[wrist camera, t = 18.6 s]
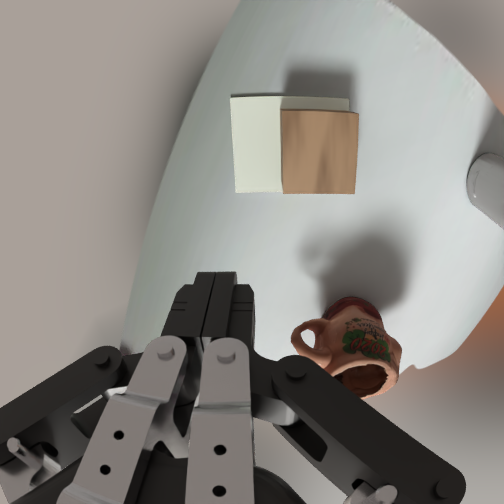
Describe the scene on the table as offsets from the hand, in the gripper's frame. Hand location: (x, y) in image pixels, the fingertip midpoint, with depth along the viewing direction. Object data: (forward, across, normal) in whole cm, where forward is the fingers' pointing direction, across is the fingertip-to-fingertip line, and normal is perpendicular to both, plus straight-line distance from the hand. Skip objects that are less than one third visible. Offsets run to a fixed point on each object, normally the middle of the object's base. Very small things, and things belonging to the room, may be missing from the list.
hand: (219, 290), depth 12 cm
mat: (+27, -5, -1) cm, 27 cm away
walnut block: (+24, -4, -1) cm, 24 cm away
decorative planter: (+27, -14, +26) cm, 40 cm away
